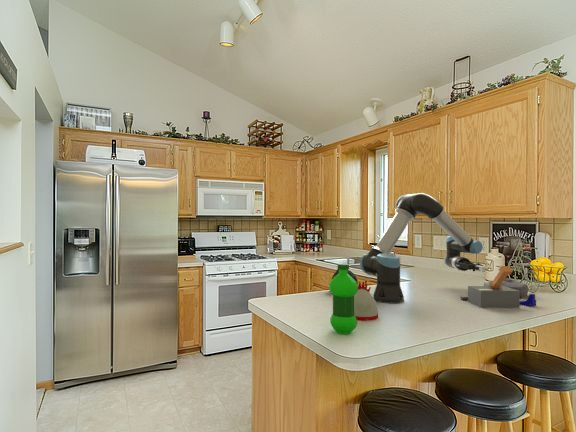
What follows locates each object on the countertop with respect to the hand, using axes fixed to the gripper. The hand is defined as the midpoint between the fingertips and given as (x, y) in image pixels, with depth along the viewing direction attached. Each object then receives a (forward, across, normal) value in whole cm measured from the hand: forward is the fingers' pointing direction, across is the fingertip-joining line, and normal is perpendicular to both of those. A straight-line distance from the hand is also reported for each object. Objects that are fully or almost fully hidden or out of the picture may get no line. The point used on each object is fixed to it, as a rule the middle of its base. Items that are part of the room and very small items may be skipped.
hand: (483, 269), depth 174 cm
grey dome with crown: (+28, +68, -16) cm, 75 cm away
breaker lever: (+8, 0, -8) cm, 11 cm away
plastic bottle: (+49, +78, -16) cm, 94 cm away
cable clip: (+6, -15, -17) cm, 23 cm away
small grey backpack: (-17, -21, -17) cm, 32 cm away
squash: (-22, +68, -16) cm, 73 cm away
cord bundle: (-2, 0, -16) cm, 16 cm away
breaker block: (+8, 0, -16) cm, 18 cm away
